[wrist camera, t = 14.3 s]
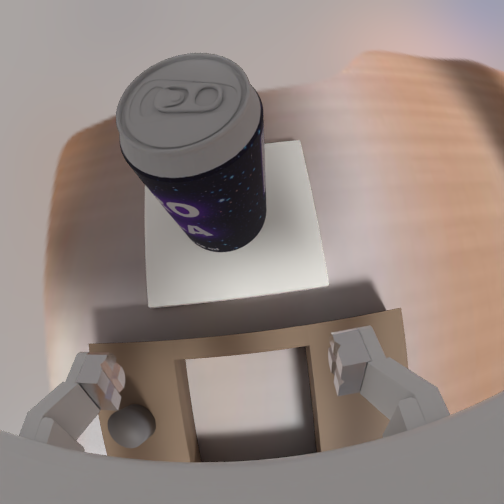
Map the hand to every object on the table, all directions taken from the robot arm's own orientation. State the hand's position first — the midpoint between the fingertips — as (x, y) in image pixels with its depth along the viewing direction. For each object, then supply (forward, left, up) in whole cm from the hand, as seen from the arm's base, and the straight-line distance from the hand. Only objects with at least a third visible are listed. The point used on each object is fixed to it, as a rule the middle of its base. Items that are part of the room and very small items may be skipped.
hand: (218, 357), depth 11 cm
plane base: (0, +4, -9) cm, 10 cm away
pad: (0, -9, -9) cm, 13 cm away
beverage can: (0, -9, -9) cm, 12 cm away
